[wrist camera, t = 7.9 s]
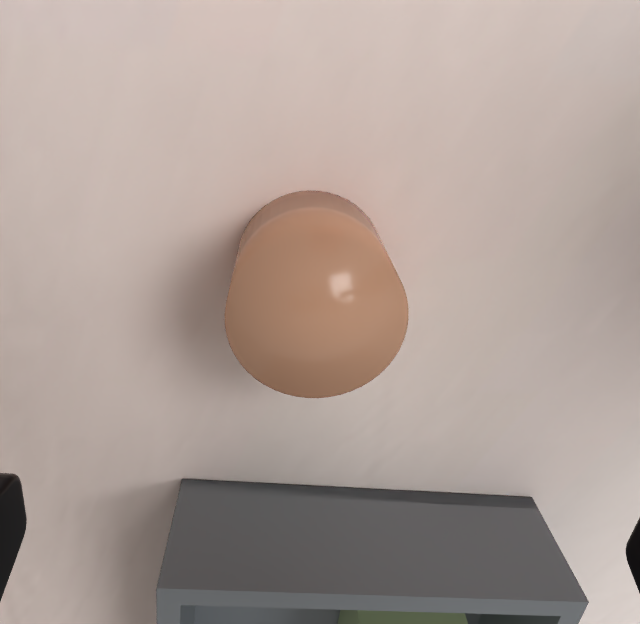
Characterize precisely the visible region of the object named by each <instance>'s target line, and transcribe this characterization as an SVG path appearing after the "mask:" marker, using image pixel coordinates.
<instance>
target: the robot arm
mask: <svg viewBox="0 0 640 624" xmlns="http://www.w3.org/2000/svg"><path fill="white" fill-rule="evenodd" d="M25 530H26V512H25V505H24V499H23V492H22V486H21V481H20V479H19V477H18V476H17V475H15V474H8V473H0V601H1V598H2V596H3V593H4V590H5V587H6V584H7V582H8V579H9V576H10V573H11V571H12V568H13V565H14V562H15V560H16V557H17V554H18V551H19V549H20V546H21V543H22V540H23V538H24V534H25ZM626 557H627V561H628V564H629V567H630V569H631V572H632V575H633V577H634V580H635V582H636V585H637V588H638V590H639V593H640V518H639V520H638V522H637V524H636V526H635V528H634V530H633V532H632V534H631V536H630V538H629V540H628V542H627V546H626Z"/></svg>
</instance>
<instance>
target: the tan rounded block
mask: <svg viewBox="0 0 640 624" xmlns="http://www.w3.org/2000/svg"><path fill="white" fill-rule="evenodd" d="M407 325H408V303H407V297H406V293H405V290H404V287H403V285H402V283H401V281H400V278H399V276H398V274H397V272H396V270H395V268H394V266H393V264H392V262H391V260H390V258H389V256H388V254H387V252H386V250H385V248H384V246H383V243H382V241H381V239H380V237H379V235H378V233H377V231H376V229H375V227H374V225H373V224H372V222H371V221H370V219H369V218H368V217H367V216H366V214H365V213H364V212H363V211H362V210H361V209H359V208H358V207H357V206H356V205H355V204H353V203H351V202H350V201H348V200H347V199H344V198H342V197H340V196H338V195H335V194H331V193H328V192H322V191H299V192H295V193H290V194H287V195H284V196H282V197H279V198H277V199H275V200H273V201H272V202H270V203H269V204H267V205H266V206H264V207H263V208H262V209H261V210H260V211H259V212H258V213H257V214H256V215H255V216H254V217H253V218H252V220H251V221H250V222H249V224H248V225H247V227H246V229H245V231H244V233H243V235H242V238H241V241H240V245H239V248H238V253H237V257H236V262H235V266H234V270H233V275H232V279H231V284H230V288H229V292H228V297H227V301H226V308H225V328H226V334H227V338H228V341H229V344H230V347H231V349H232V351H233V353H234V355H235V356H236V358H237V359H238V361H239V362H240V364H241V365H242V366H243V367H244V368H245V369H246V371H247V372H248V373H250V374H251V375H252V376H253V377H254V378H255V379H257V380H258V381H260V382H261V383H263V384H264V385H266V386H268V387H270V388H272V389H274V390H276V391H279V392H282V393H284V394H288V395H292V396H297V397H305V398H323V397H331V396H336V395H341V394H344V393H347V392H350V391H353V390H355V389H357V388H359V387H361V386H363V385H365V384H366V383H368V382H370V381H371V380H373V379H374V378H375V377H377V376H378V375H379V374H380V373H381V372H382V371H383V370H384V369H385V368H386V367H387V366H388V365H389V364H390V363H391V361H392V360H393V359H394V357H395V356H396V354H397V353H398V351H399V349H400V347H401V345H402V343H403V340H404V337H405V334H406V330H407Z"/></svg>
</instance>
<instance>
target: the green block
mask: <svg viewBox="0 0 640 624" xmlns="http://www.w3.org/2000/svg"><path fill="white" fill-rule="evenodd" d="M338 624H468V622H467V619H466V616H465V613H434V612H400V611H365V610H340V615H339V619H338Z"/></svg>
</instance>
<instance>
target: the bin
mask: <svg viewBox="0 0 640 624" xmlns="http://www.w3.org/2000/svg"><path fill="white" fill-rule="evenodd" d="M156 598H157V624H338V619H339V615H340V610H365V611H400V612H434V613H465V616H466V619H467V622H468V624H578V623H579V621H580V619H581V617H582V615H583V613H584V611H585V609H586V607H587V605H588V603H589V602H588V600H587V598H586V596H585V594H584V592H583V591H582V589H581V587H580V585H579V583H578V581H577V580H576V578H575V576H574V574H573V572H572V570H571V568H570V567H569V565H568V563H567V561H566V559H565V557H564V556H563V554H562V552H561V550H560V548H559V546H558V545H557V543H556V541H555V539H554V537H553V535H552V533H551V532H550V530H549V528H548V526H547V524H546V522H545V521H544V519H543V517H542V515H541V513H540V511H539V510H538V508H537V506H536V504H535V502H534V500H533V499H532V497H517V496H498V495H479V494H459V493H440V492H421V491H402V490H383V489H364V488H345V487H326V486H307V485H288V484H269V483H250V482H230V481H211V480H192V479H182V482H181V486H180V490H179V495H178V499H177V503H176V507H175V512H174V516H173V520H172V524H171V529H170V533H169V537H168V541H167V546H166V550H165V554H164V558H163V563H162V567H161V571H160V575H159V580H158V584H157V588H156Z"/></svg>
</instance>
